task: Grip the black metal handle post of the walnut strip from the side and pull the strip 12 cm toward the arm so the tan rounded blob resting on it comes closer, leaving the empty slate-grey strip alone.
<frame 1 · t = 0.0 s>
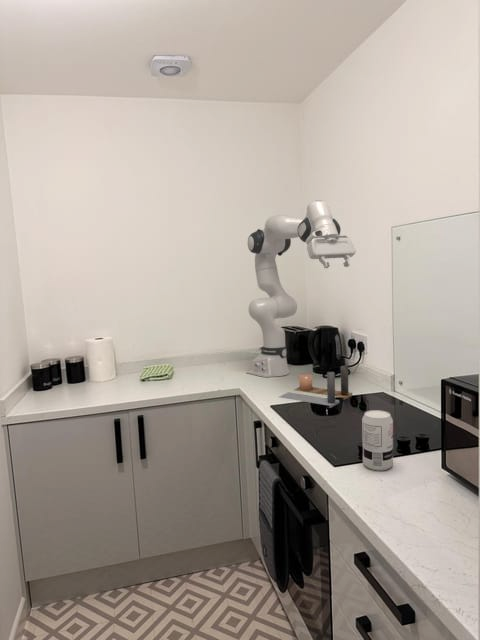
hand: (337, 266, 191), 54 cm above the worktop, tool tilted 30°, fingers open, 8 cm apart
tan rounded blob: (306, 388, 215), point 1 cm above the worktop, touching walnut strip
supplement can: (377, 466, 138), on the worktop
walnut strip: (321, 378, 209), point 7 cm above the worktop, slide at 0.0 cm, touching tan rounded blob
slate-grey strip: (307, 385, 200), point 7 cm above the worktop, slide at 0.0 cm
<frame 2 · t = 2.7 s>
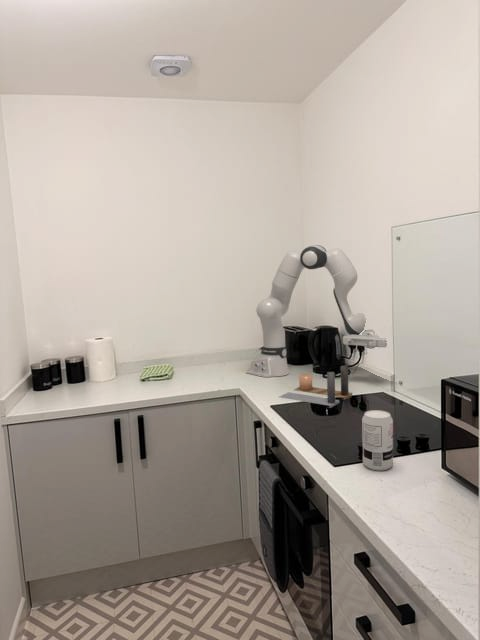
hand: (358, 343, 212), 20 cm above the worktop, tool horizontal, fingers open, 8 cm apart
nothing on the worktop moved.
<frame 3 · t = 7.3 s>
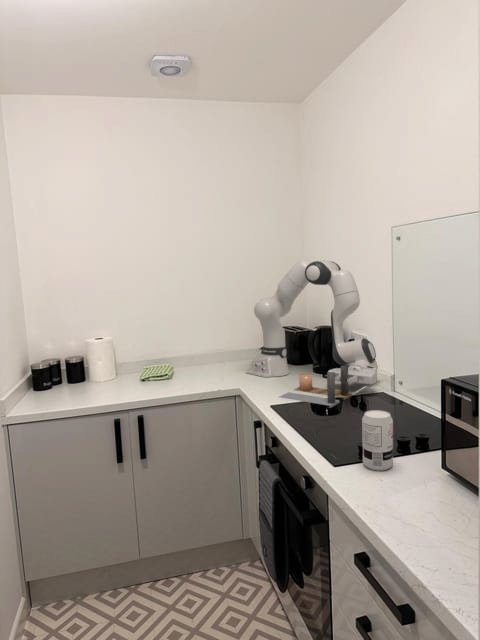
hand: (343, 380, 202), 8 cm above the worktop, tool horizontal, fingers closed on walnut strip, 3 cm apart
walnut strip: (321, 378, 209), point 7 cm above the worktop, slide at 0.0 cm, touching gripper, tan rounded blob
everything else where it was.
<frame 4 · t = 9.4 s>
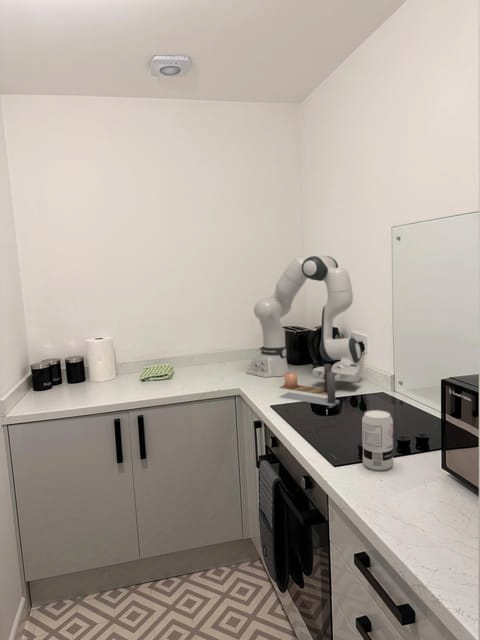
hand: (327, 378, 206), 7 cm above the worktop, tool horizontal, fingers closed on walnut strip, 3 cm apart
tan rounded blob: (291, 386, 219), point 1 cm above the worktop, touching walnut strip
walnut strip: (306, 376, 214), point 7 cm above the worktop, slide at 7.6 cm, touching gripper, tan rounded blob
everything else where it was.
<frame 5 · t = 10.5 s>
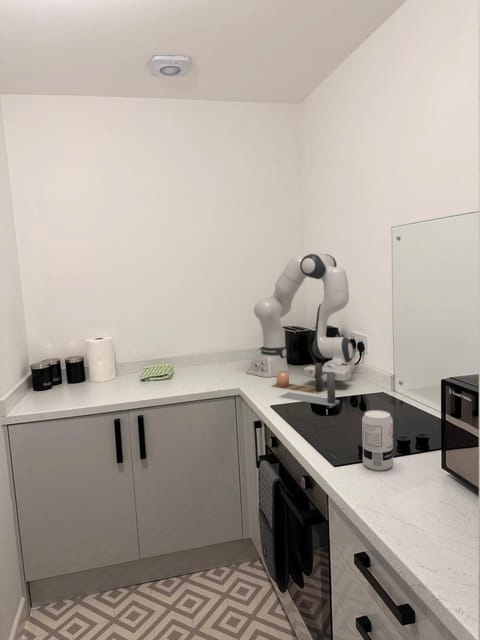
hand: (317, 377, 209), 7 cm above the worktop, tool horizontal, fingers closed on walnut strip, 3 cm apart
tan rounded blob: (283, 385, 222), point 1 cm above the worktop, touching walnut strip
walnut strip: (297, 375, 216), point 7 cm above the worktop, slide at 11.9 cm, touching gripper, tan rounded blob
everything else where it was.
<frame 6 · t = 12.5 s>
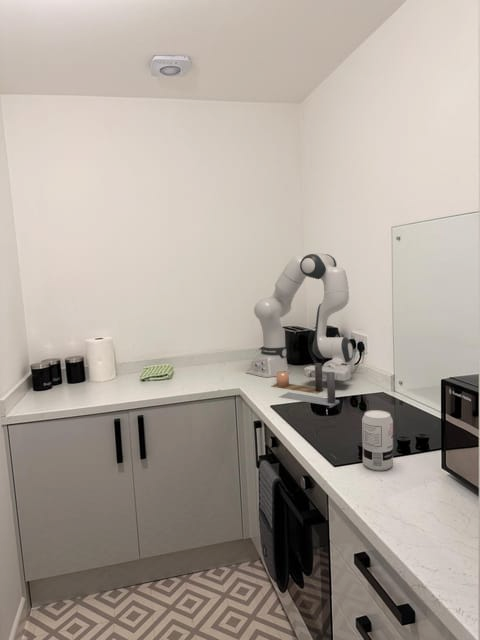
hand: (317, 376, 209), 7 cm above the worktop, tool horizontal, fingers open, 8 cm apart
walnut strip: (297, 375, 216), point 7 cm above the worktop, slide at 12.0 cm, touching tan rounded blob
everything else where it was.
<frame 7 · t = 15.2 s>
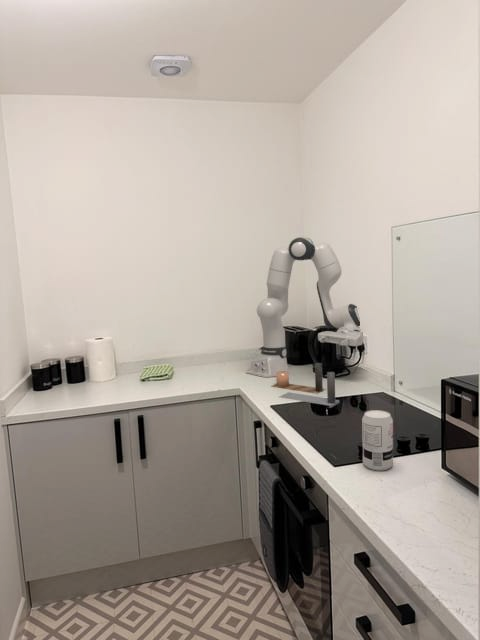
hand: (330, 342, 219), 20 cm above the worktop, tool horizontal, fingers open, 8 cm apart
nothing on the worktop moved.
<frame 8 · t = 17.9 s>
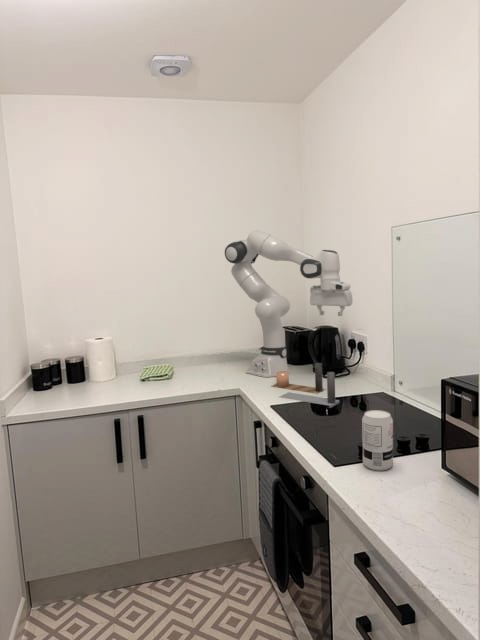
hand: (330, 315, 226), 31 cm above the worktop, tool pointing down, fingers open, 8 cm apart
nothing on the worktop moved.
at the end: walnut strip slide at 12.0 cm; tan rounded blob inside the target area (0.5 cm from its centre), point 1.1 cm above the worktop; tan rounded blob tilted 0° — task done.
